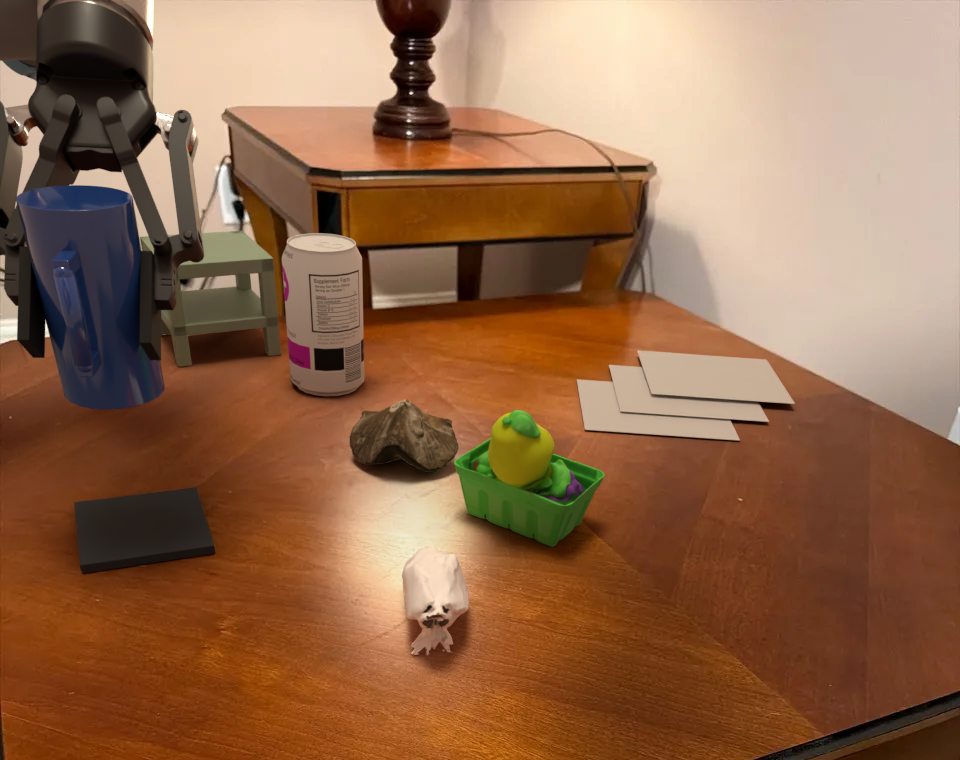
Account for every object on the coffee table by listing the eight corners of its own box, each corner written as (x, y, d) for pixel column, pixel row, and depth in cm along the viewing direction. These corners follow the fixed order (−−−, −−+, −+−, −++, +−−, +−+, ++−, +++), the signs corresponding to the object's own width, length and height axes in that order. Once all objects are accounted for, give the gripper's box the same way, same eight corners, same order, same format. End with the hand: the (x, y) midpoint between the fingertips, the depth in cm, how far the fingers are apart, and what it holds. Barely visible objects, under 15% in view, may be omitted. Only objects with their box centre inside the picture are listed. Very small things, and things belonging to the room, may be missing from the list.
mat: (76, 510, 74) (74, 501, 73) (197, 494, 77) (196, 486, 76) (82, 573, 66) (79, 565, 66) (215, 553, 70) (214, 545, 69)
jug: (77, 371, 66) (33, 183, 58) (172, 372, 67) (141, 187, 59) (41, 425, 59) (-15, 218, 51) (148, 427, 60) (110, 223, 52)
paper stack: (816, 446, 93) (819, 439, 92) (584, 429, 92) (585, 423, 92) (765, 364, 111) (766, 359, 111) (571, 350, 110) (572, 345, 110)
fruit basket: (600, 522, 77) (621, 402, 70) (551, 566, 71) (569, 439, 64) (493, 483, 82) (502, 366, 75) (439, 520, 76) (443, 397, 69)
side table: (178, 367, 99) (163, 266, 92) (155, 332, 107) (139, 236, 100) (281, 354, 104) (273, 258, 97) (251, 322, 112) (242, 230, 105)
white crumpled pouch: (483, 661, 63) (460, 560, 69) (475, 604, 58) (451, 500, 64) (416, 674, 63) (399, 572, 69) (402, 618, 58) (384, 512, 63)
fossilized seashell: (472, 431, 85) (383, 424, 89) (450, 386, 79) (357, 380, 83) (448, 496, 82) (358, 485, 86) (424, 454, 77) (328, 445, 80)
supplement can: (279, 391, 95) (267, 246, 86) (308, 365, 101) (300, 228, 92) (349, 403, 94) (344, 257, 85) (374, 376, 100) (372, 237, 91)
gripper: (248, 87, 66) (249, 376, 64) (-30, 70, 64) (-40, 370, 61) (233, 5, 59) (233, 328, 56) (-83, -17, 56) (-97, 320, 54)
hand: (91, 349), depth 59 cm, fingers closed on jug, 7 cm apart
